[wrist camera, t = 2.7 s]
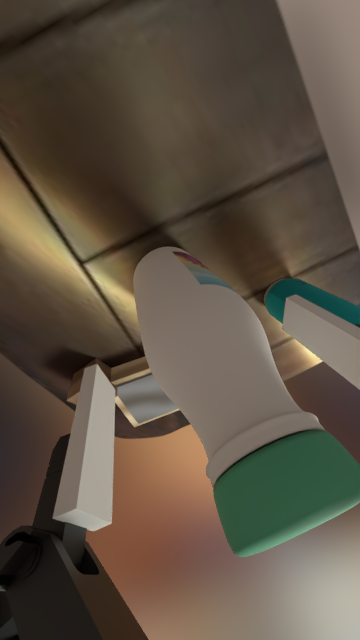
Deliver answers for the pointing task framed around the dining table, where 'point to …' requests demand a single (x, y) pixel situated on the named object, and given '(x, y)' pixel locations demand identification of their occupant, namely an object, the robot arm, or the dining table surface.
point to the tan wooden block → (78, 377)
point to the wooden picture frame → (140, 393)
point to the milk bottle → (238, 406)
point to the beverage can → (319, 297)
